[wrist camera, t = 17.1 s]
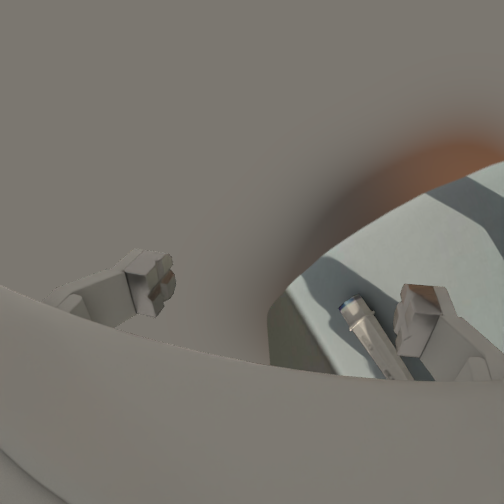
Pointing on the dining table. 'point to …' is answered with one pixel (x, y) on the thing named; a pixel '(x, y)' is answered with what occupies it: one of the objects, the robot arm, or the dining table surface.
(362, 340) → the white elongated capped device
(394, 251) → the dining table surface
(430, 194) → the dining table surface
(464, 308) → the dining table surface
